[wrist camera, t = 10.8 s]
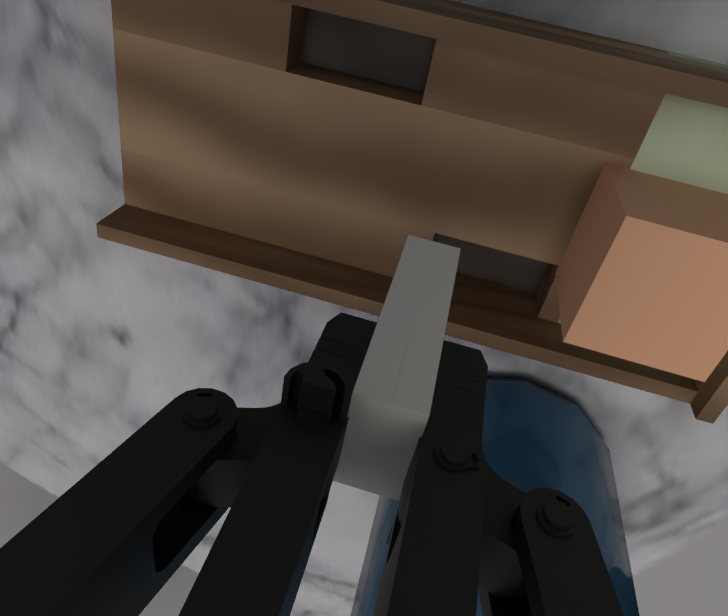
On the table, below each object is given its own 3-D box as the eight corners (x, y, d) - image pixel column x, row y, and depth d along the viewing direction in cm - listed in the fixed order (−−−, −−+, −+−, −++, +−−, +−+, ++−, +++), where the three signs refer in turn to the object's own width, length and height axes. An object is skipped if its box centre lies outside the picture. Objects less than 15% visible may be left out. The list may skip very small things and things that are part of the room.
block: (605, 162, 24) (626, 215, 19) (739, 197, 23) (793, 260, 19) (555, 273, 27) (562, 341, 22) (672, 306, 26) (704, 382, 22)
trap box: (139, -72, 25) (48, -73, 20) (842, 92, 23) (933, 135, 18) (150, 199, 32) (85, 246, 28) (680, 343, 30) (712, 423, 25)
